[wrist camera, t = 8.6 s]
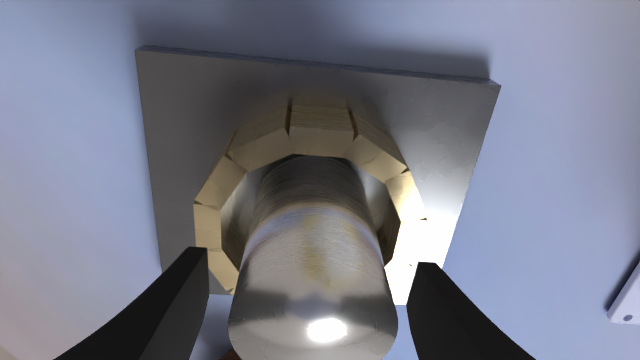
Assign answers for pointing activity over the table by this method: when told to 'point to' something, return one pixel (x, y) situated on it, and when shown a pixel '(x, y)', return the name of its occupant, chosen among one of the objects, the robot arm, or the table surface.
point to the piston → (312, 270)
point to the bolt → (231, 355)
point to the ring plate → (306, 149)
